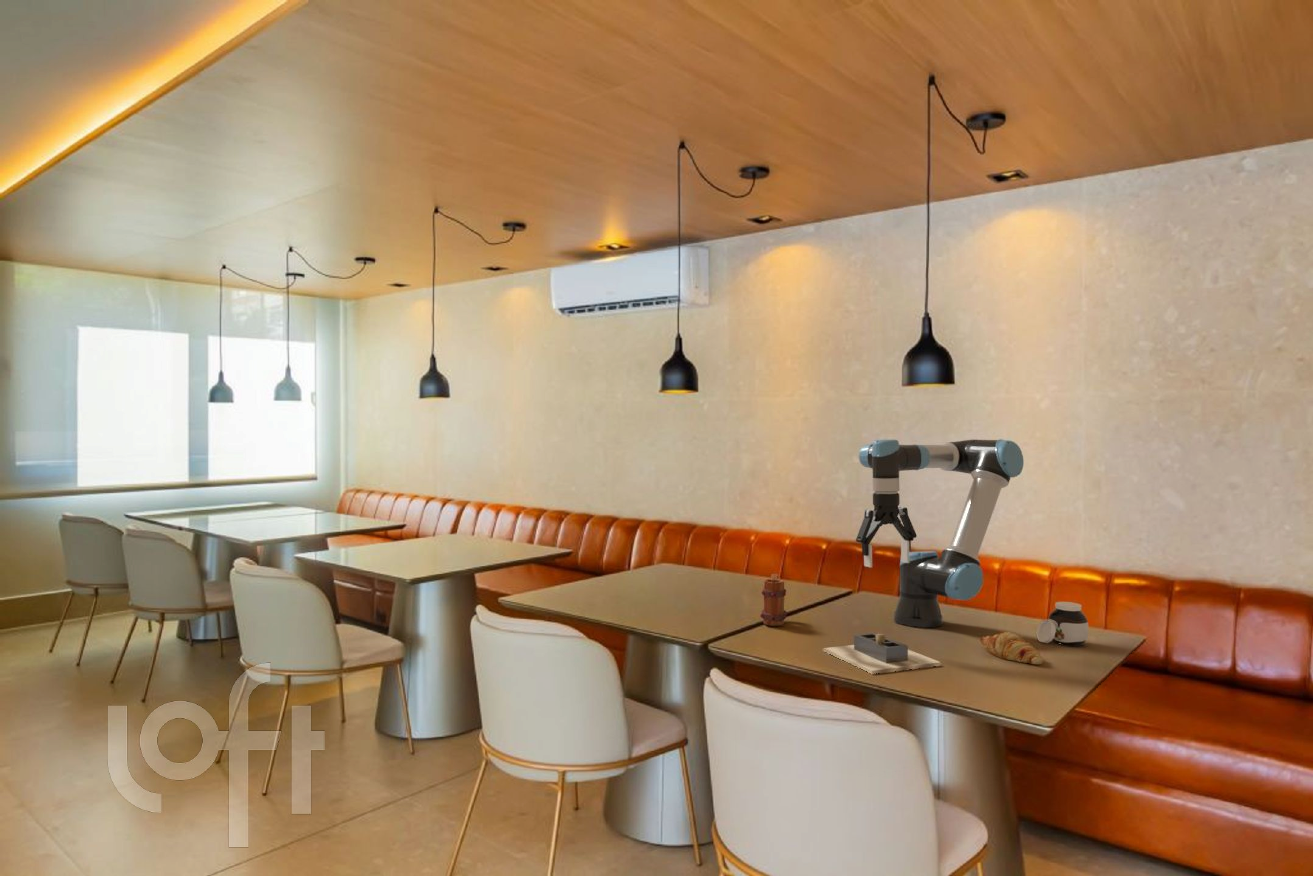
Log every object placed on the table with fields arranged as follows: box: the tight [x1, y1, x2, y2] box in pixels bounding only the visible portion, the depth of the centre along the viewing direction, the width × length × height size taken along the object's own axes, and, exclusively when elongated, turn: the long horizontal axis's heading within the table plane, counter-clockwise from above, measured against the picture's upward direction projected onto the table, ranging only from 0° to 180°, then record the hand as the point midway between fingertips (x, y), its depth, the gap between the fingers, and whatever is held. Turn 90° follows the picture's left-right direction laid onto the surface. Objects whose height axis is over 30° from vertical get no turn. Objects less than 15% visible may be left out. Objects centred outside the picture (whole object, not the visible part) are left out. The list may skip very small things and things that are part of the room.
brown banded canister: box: [760, 573, 788, 627], centre depth 254 cm, size 15×8×15 cm, turn 168°
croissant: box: [979, 631, 1044, 666], centre depth 218 cm, size 21×10×8 cm, turn 24°
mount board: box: [822, 633, 941, 675], centre depth 214 cm, size 22×22×6 cm
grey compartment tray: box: [853, 632, 909, 663], centre depth 214 cm, size 14×7×4 cm, turn 22°
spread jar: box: [1035, 601, 1089, 647], centre depth 232 cm, size 12×11×12 cm
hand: (886, 564), depth 230 cm, fingers open, 13 cm apart
